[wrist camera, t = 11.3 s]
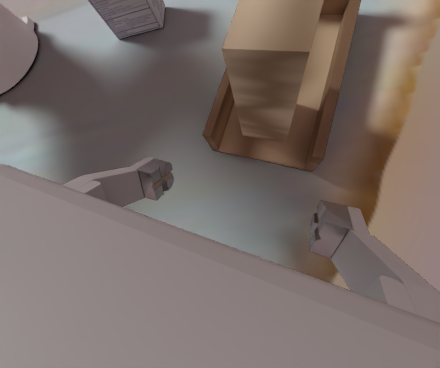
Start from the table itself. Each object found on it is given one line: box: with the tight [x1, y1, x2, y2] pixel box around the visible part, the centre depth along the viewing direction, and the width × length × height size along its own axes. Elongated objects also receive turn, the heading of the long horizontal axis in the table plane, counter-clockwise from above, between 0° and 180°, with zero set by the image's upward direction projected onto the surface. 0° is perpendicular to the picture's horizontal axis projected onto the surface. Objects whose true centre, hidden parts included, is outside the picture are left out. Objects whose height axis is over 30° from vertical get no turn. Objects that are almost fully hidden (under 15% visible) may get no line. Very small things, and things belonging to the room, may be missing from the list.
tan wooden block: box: [222, 0, 324, 143], centre depth 14 cm, size 4×4×10 cm
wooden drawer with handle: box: [203, 0, 361, 171], centre depth 17 cm, size 10×19×7 cm, turn 162°
